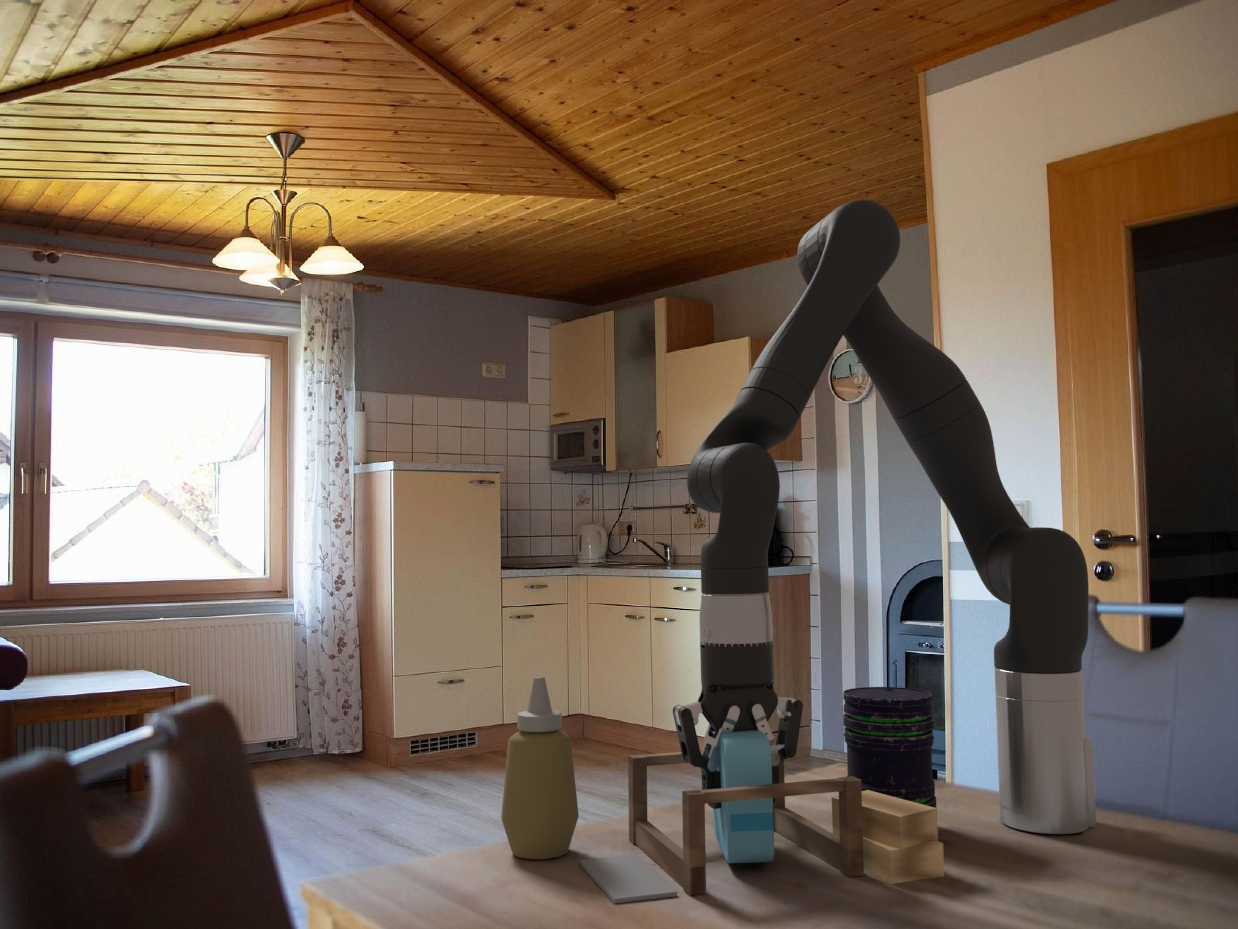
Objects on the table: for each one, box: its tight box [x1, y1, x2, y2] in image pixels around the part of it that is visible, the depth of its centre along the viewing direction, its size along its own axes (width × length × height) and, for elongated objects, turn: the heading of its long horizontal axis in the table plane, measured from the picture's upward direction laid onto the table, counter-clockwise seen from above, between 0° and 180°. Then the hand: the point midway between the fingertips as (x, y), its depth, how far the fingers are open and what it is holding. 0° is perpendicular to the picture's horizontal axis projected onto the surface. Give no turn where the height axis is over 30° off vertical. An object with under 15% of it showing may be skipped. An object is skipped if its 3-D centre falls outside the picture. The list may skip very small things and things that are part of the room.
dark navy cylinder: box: [842, 686, 938, 809], centre depth 116 cm, size 10×10×15 cm
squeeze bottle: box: [500, 676, 580, 860], centre depth 108 cm, size 8×8×18 cm
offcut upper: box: [831, 790, 939, 849], centre depth 103 cm, size 5×9×3 cm, turn 33°
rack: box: [627, 744, 865, 897], centre depth 106 cm, size 18×19×9 cm
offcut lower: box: [832, 827, 945, 885], centre depth 103 cm, size 6×10×4 cm, turn 20°
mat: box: [579, 853, 678, 904], centre depth 99 cm, size 6×12×1 cm, turn 17°
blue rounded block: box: [712, 730, 775, 864], centre depth 106 cm, size 12×4×12 cm, turn 2°
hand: (740, 803), depth 106 cm, fingers closed on blue rounded block, 5 cm apart
